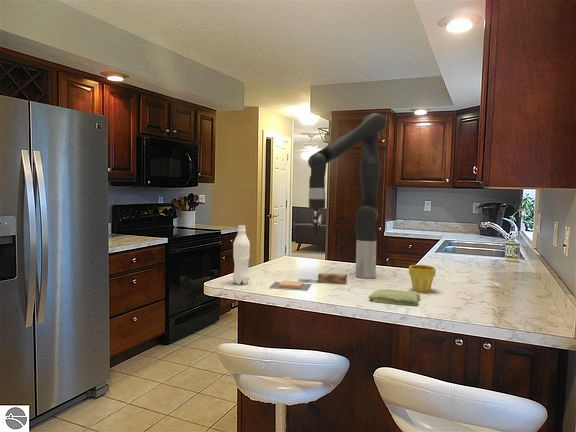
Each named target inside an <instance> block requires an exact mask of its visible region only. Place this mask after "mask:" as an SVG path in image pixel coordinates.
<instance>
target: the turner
mask: <svg viewBox="0 0 576 432" xmlns="http://www.w3.org/2000/svg"><path fill="white" fill-rule="evenodd" d="M347 276H348V275H347V274H338V273H334V274H333V273H318V275H317V279H309V278H298V280H297V281H298V282H303V283H304V284H328V285H329V284H330V285H331V284H332V285H334V284H335V285H347V282H348V281H347Z"/></svg>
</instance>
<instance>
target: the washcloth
mask: <svg viewBox="0 0 576 432" xmlns="http://www.w3.org/2000/svg"><path fill="white" fill-rule="evenodd" d="M420 298H421V295H420V292H417V291H414V290H413V291H412V290H409V291H405V290H394V289H377V290H374V291H372V292H371V294H370V295H368V299H369V300H372V303H378V304H387V305H389V304H390V305H397V306H398V305H400V306H409V307H410V306H411V307H416V306H418V303H419V300H420Z"/></svg>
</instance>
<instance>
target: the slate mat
mask: <svg viewBox="0 0 576 432" xmlns="http://www.w3.org/2000/svg"><path fill="white" fill-rule="evenodd" d="M280 282H281V281H275V282H273V283H272V284H271V285H270V286H269V287H268V289H269V290H270V289H272V290H284V291H285V290H288V291H301V292H302V291H303V292H305V291H306V292H308V291H309V290H310V288H311V286H312V285H313V283H304V282H303V286H302V287H301V288H300V289H297V288H281V287H279V284H280Z"/></svg>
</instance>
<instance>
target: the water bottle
mask: <svg viewBox="0 0 576 432" xmlns="http://www.w3.org/2000/svg"><path fill="white" fill-rule="evenodd" d="M246 231H247V230H246V225H245V224H238V225H237V234H236V236H235V238H234V241H233V242H232V243H233V244H232V247H233V250H232V252H233V253H232V254H233V255H232V257H233V262H234V263H233V264H234V269H233V270H234V271H233V274H232V281H233V282H234V284H236V285H241V283H242V285H246V284H248V283H249V281H250V277H251V275H250V272H249V263H250V262H249V261H250V257H251V255H250V253H251V252H250V250H251V249H250V248H251V247H250V246H251V242H250V240H249V238H248V236H247V233H246Z"/></svg>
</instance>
